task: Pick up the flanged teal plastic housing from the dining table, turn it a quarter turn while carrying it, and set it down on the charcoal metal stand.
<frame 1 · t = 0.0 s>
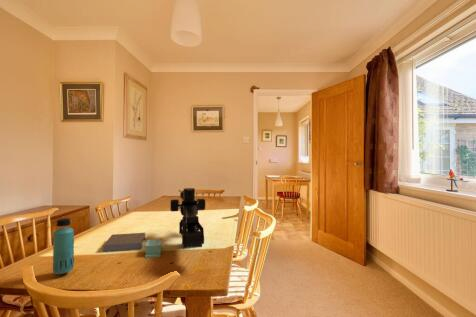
hand: (187, 202, 146), 17 cm above the table, tool horizontal, fingers open, 9 cm apart
beverage bottle: (63, 274, 91), on the table
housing: (153, 252, 113), on the table
stand: (125, 244, 122), on the table
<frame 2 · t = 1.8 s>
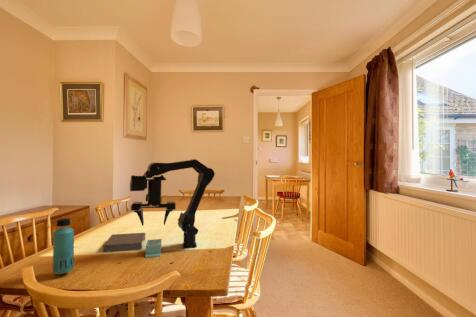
hand: (153, 225, 113), 12 cm above the table, tool pointing down, fingers open, 9 cm apart
nothing on the table moved.
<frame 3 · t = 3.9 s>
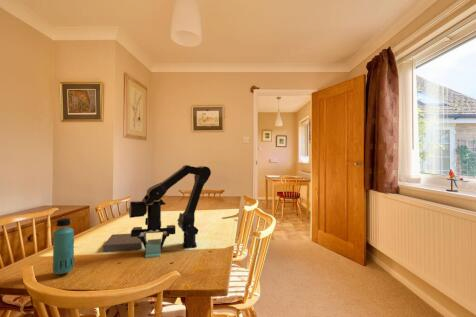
hand: (153, 249, 113), 1 cm above the table, tool pointing down, fingers closed on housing, 6 cm apart
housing: (153, 252, 113), on the table, touching gripper
everything else where it was.
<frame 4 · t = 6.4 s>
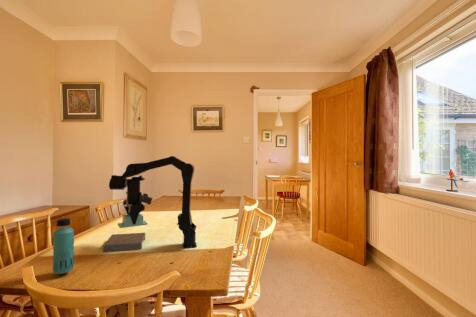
hand: (132, 222, 119), 11 cm above the table, tool pointing down, fingers closed on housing, 6 cm apart
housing: (132, 224, 119), point 10 cm above the table, touching gripper
everything else where it was.
when the fingers open (5 cm above the table, at t = 8.8 s): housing drops 1 cm, resting on stand.
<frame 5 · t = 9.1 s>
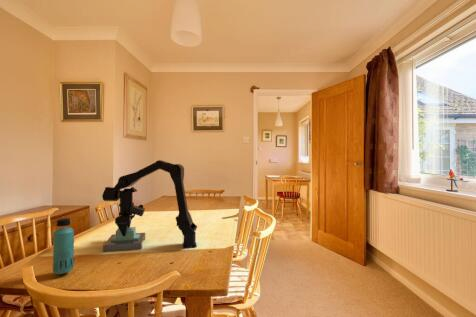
hand: (126, 233, 122), 5 cm above the table, tool pointing down, fingers open, 9 cm apart
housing: (125, 238, 122), point 3 cm above the table, touching stand
everything else where it was.
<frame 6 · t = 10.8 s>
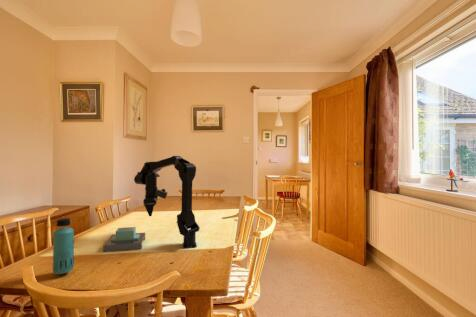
hand: (151, 214, 135), 12 cm above the table, tool pointing down, fingers open, 9 cm apart
nothing on the table moved.
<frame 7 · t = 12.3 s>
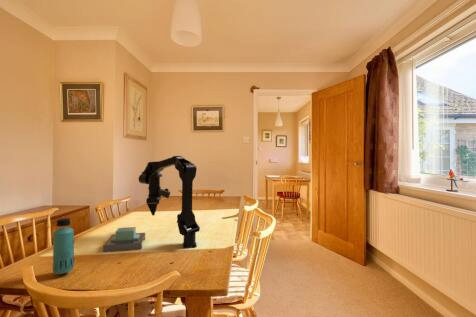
hand: (154, 213, 136), 12 cm above the table, tool pointing down, fingers open, 9 cm apart
nothing on the table moved.
at the end: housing inside the target area on the stand (0.0 cm from its centre), point 3.0 cm above the stand's base; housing tilted 0°; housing touching stand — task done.
